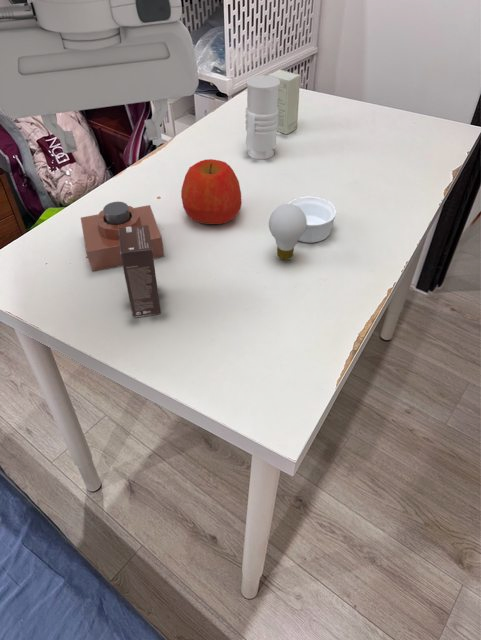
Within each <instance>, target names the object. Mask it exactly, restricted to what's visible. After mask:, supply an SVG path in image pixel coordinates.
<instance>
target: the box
mask: <svg viewBox="0 0 481 640" xmlns="http://www.w3.org/2000/svg"><path fill="white" fill-rule="evenodd" d="M119 243H120V254H121V259H122V265H121V266H122V269H123V274H124V279H125V285H126V290H127V294H128V299H129V304H130V310H131V314H132V318H142V317H149V316H155V315H159V314H161V313H162V309H161V303H160V296H159V295H160V294H159V288H158V282H157V281H158V279H157V275H156V268H155V260H154V259H153V252H152V244H151V238H150V232H149V227H148V225H143V226H132V227H122V228H119Z"/></svg>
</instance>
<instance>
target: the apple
mask: <svg viewBox="0 0 481 640" xmlns="http://www.w3.org/2000/svg"><path fill="white" fill-rule="evenodd" d="M180 193H181V194H180V197H181V203H182V208H183V209H184V212H185V213H186V215H187V217H189V218H190V219H191V220H192V221H194V222H195V223H199V224H200V223H201V224H203V225H204V224H205V225H222V224H226V223H229V222H230V221H231V220H234V218H236V216H237V215H238V214H239V212H240V210H241V208H242V204H243V203H242V202H243V201H242V190H241V185H240V181H239V179H238V177H237V175H236V173H235V171H234V170H233V168H232V167H231V165H229V164H228V163H227V162H225V161H222V160H217V159H212V158H210V159H203V160H199V161H198V162H196V163H195V164H193V165H191V166H190V167H189V168H188V169H187V172H186V173H185V176H184V179H183V183H182V186H181V191H180Z"/></svg>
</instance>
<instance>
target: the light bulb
mask: <svg viewBox="0 0 481 640" xmlns="http://www.w3.org/2000/svg"><path fill="white" fill-rule="evenodd" d="M306 225H307V220H306V216H305V214H304V212H303V211H302V210H301V209H300V208H299V207H298V206H296V205H293V204H288V203H283V204H281V205H279V206H277V207H276V208H275V209H274V210H273V211H272V212H271V214H270V216H269V220H268V228H269V231H270V233H271V236H272V237H273V238H274V240H275V243H276V247H277V248H276V255H277V257H278V258H279V259H281V260H283V261H286V260H290V259H292V258H293V256H294V250H295V247H296V245H297V242H298V239H299V238H300V237H301V236H302V235H303V234H304V232H305V230H306Z"/></svg>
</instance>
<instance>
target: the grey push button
mask: <svg viewBox="0 0 481 640" xmlns="http://www.w3.org/2000/svg"><path fill="white" fill-rule="evenodd" d="M128 206H129V205H128V203H126V202H123V201H112V202H109V203H107V204H106V205H104V207H103V209H102V210H103V212H104V216H105V220H106V222H107V224H110V225H120V224H124V223H126V222H128V221H129V220H130V213H129V208H128Z"/></svg>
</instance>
